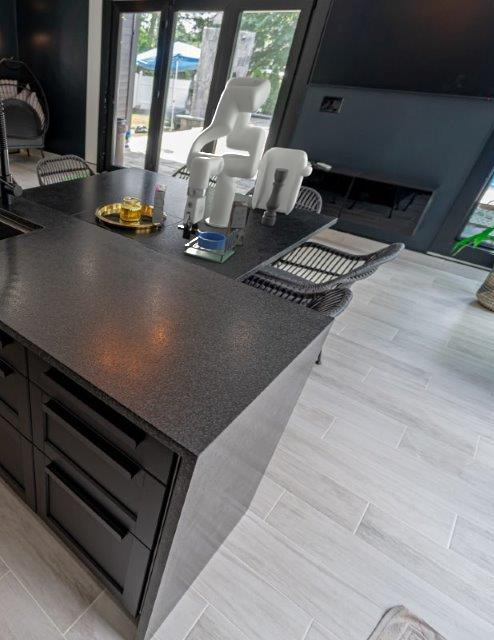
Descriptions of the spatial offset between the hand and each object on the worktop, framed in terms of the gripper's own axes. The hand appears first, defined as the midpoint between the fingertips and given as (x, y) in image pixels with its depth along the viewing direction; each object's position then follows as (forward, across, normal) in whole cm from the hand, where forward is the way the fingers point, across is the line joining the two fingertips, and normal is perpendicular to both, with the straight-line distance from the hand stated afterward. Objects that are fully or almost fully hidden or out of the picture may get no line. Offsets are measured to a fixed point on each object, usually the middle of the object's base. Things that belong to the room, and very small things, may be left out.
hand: (189, 236), depth 166 cm
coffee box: (+5, +20, -12) cm, 24 cm away
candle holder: (+5, +54, -18) cm, 57 cm away
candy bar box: (+5, +20, +26) cm, 33 cm away
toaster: (+5, +79, -12) cm, 80 cm away
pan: (+1, 0, -5) cm, 5 cm away
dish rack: (+5, 0, -10) cm, 11 cm away
